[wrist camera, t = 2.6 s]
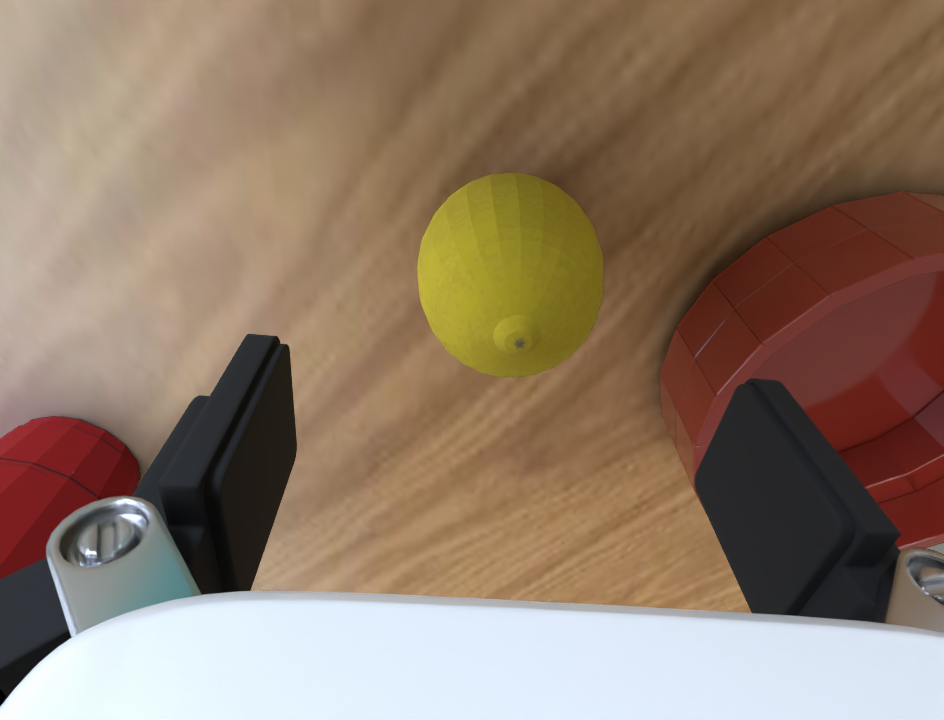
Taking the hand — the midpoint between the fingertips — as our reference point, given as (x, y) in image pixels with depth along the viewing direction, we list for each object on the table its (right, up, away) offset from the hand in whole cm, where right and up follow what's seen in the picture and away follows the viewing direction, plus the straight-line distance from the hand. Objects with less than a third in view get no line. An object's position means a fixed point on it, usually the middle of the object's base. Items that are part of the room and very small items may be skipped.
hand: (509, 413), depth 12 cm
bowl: (+14, +1, +12) cm, 19 cm away
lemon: (0, +6, +9) cm, 11 cm away
